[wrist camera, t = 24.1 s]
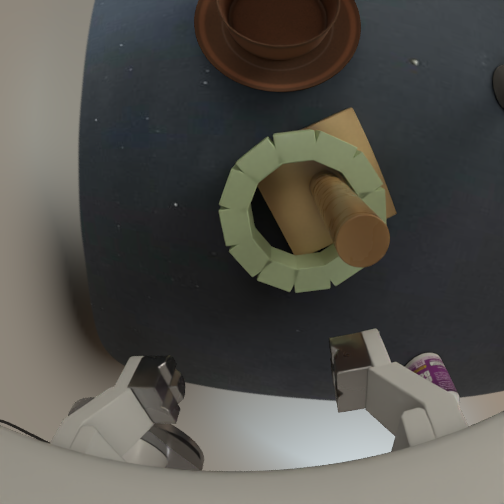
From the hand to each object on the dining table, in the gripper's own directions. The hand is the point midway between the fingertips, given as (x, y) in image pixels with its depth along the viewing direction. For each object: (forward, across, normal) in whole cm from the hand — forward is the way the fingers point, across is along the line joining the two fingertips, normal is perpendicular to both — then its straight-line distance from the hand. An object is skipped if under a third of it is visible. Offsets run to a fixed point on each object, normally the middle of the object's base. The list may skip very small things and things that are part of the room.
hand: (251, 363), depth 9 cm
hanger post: (+17, -5, -2) cm, 18 cm away
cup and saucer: (+17, -4, -15) cm, 23 cm away
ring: (+15, -3, 0) cm, 16 cm away
